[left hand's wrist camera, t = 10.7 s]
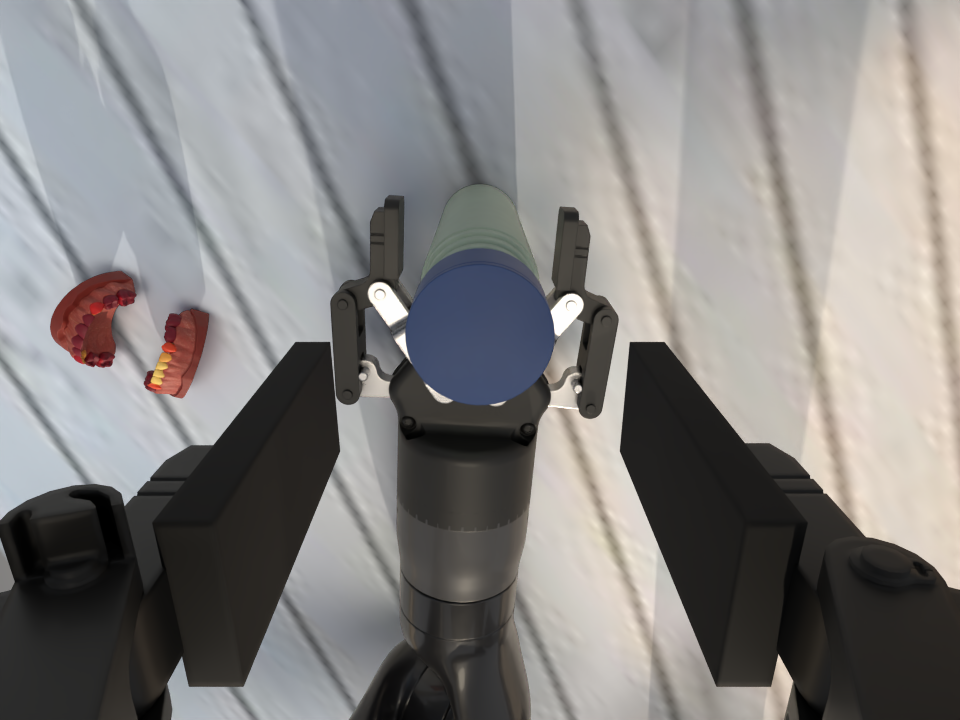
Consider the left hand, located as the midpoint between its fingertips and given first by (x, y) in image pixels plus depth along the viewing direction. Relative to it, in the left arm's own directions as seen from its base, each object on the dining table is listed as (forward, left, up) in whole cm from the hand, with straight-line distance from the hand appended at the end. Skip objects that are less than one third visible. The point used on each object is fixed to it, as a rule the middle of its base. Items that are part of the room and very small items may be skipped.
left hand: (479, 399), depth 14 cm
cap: (0, 0, -4) cm, 4 cm away
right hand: (0, -2, -18) cm, 18 cm away
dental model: (+21, +4, -24) cm, 32 cm away
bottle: (0, 0, -24) cm, 24 cm away
